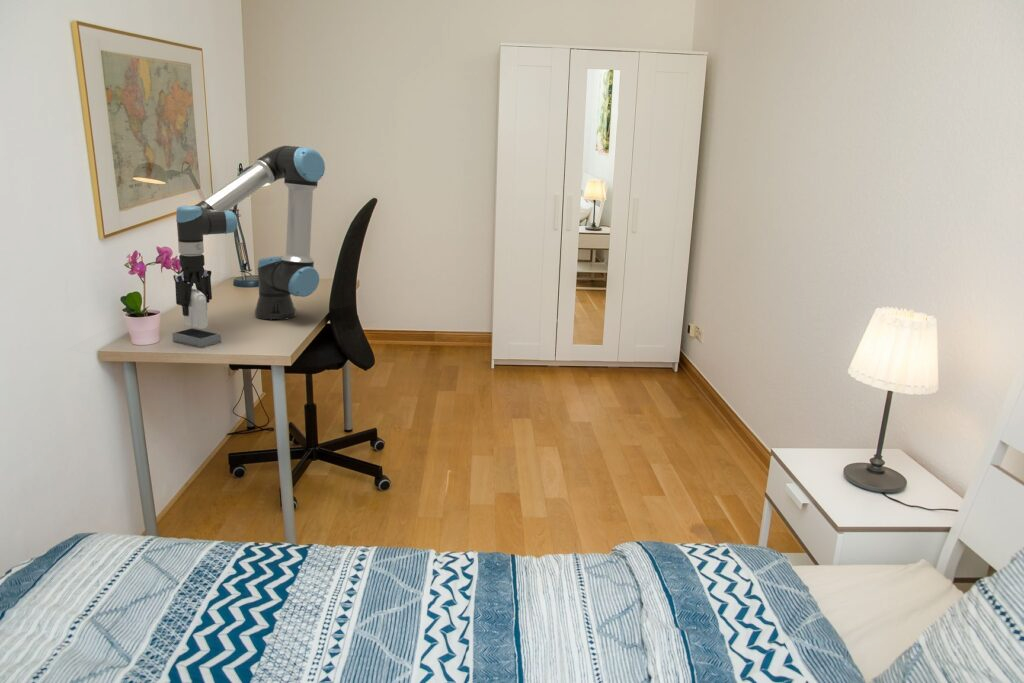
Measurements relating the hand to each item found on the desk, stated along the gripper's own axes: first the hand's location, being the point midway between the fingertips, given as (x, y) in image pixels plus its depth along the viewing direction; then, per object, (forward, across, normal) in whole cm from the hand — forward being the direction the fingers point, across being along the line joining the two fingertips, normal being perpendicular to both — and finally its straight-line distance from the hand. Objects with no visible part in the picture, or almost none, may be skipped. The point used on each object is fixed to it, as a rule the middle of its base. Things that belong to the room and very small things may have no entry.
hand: (195, 323), depth 245 cm
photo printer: (+1, 0, 0) cm, 1 cm away
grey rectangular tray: (+7, 0, 0) cm, 7 cm away
